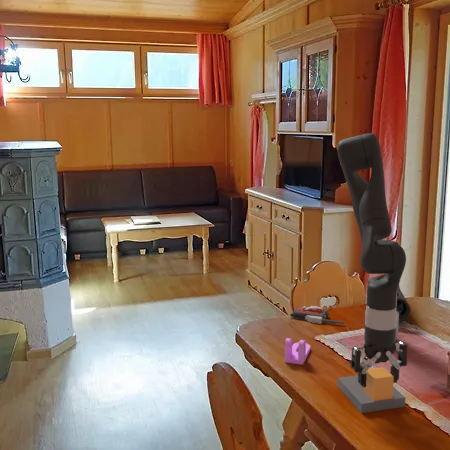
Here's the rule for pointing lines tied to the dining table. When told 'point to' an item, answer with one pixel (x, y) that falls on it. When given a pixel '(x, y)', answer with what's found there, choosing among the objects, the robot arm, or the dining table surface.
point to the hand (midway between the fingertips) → (378, 383)
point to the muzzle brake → (402, 306)
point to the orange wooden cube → (379, 384)
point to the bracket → (292, 353)
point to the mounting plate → (362, 400)
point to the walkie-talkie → (313, 315)
